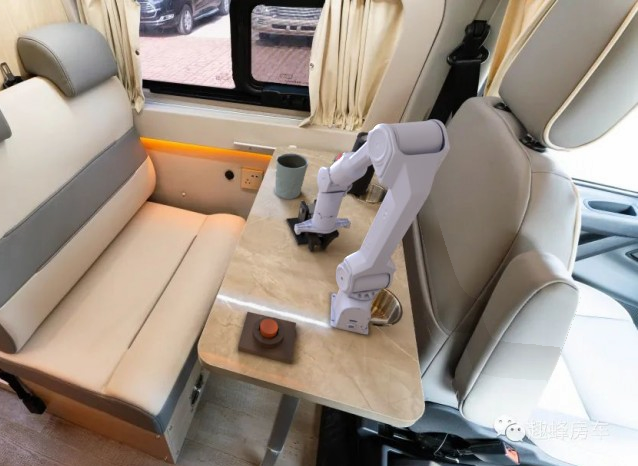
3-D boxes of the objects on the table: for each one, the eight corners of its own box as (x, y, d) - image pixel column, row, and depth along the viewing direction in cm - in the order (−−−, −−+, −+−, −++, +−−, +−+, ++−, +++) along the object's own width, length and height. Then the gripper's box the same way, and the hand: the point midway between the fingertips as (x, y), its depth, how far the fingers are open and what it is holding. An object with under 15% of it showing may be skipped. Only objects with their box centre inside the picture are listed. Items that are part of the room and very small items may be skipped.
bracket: (328, 241, 94) (335, 214, 87) (297, 245, 93) (303, 218, 86) (314, 217, 102) (320, 191, 95) (286, 221, 101) (290, 194, 94)
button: (278, 325, 70) (279, 320, 69) (275, 340, 67) (276, 335, 66) (261, 321, 71) (262, 316, 70) (258, 336, 68) (259, 331, 67)
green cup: (270, 197, 110) (273, 165, 102) (275, 181, 117) (279, 151, 109) (300, 202, 108) (306, 170, 100) (304, 186, 115) (310, 155, 107)
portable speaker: (366, 184, 115) (385, 131, 102) (367, 199, 109) (386, 145, 96) (341, 180, 117) (356, 128, 104) (340, 195, 111) (356, 141, 98)
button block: (295, 326, 73) (297, 317, 71) (290, 364, 67) (292, 355, 64) (247, 315, 76) (247, 306, 73) (237, 350, 69) (238, 342, 67)
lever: (321, 246, 91) (326, 244, 88) (311, 247, 91) (315, 245, 88) (313, 206, 94) (316, 202, 91) (303, 207, 94) (306, 203, 91)
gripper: (346, 197, 86) (335, 236, 95) (293, 203, 84) (287, 241, 93) (359, 214, 81) (345, 253, 90) (302, 221, 79) (295, 259, 88)
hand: (316, 248), depth 91 cm, fingers closed on lever, 3 cm apart
